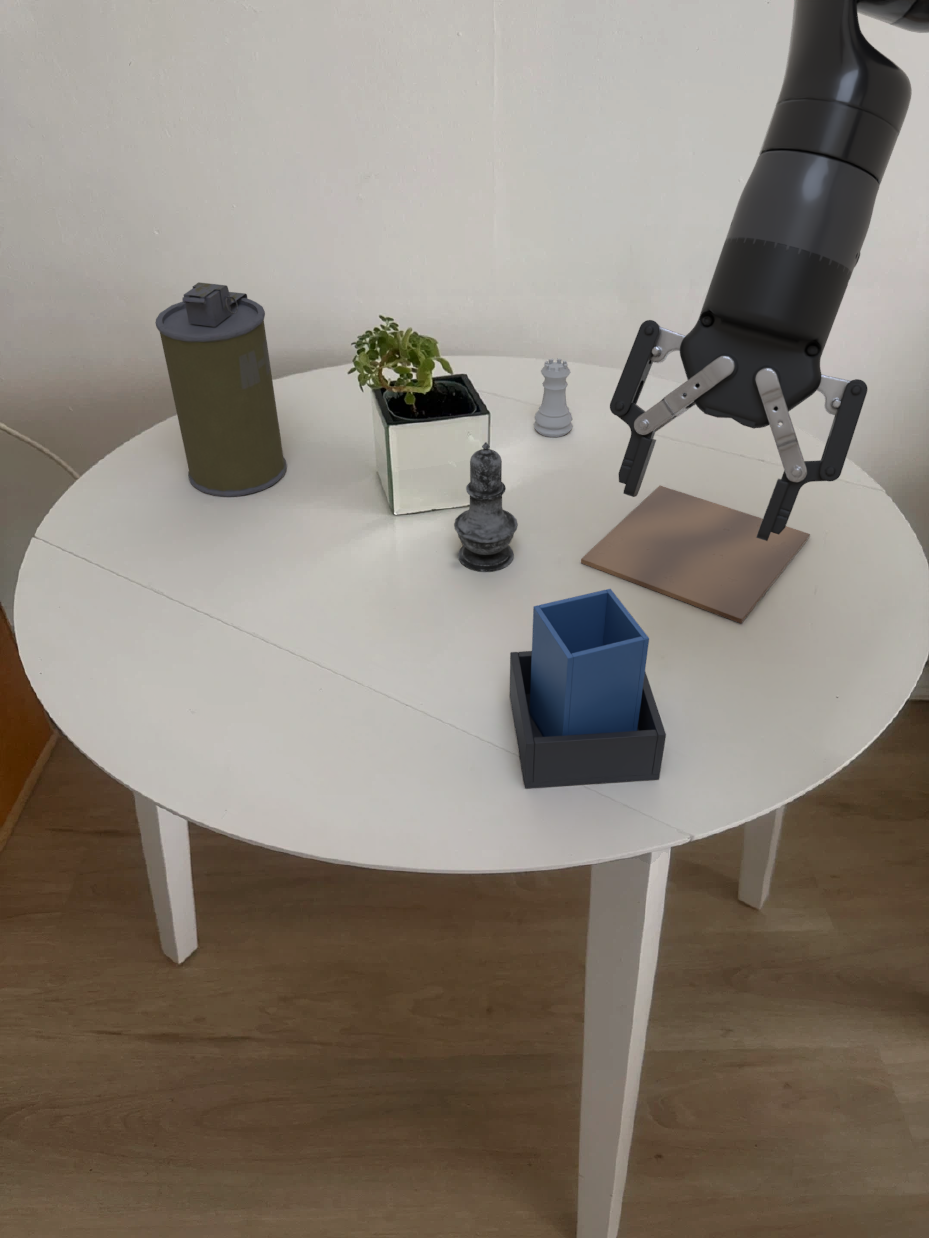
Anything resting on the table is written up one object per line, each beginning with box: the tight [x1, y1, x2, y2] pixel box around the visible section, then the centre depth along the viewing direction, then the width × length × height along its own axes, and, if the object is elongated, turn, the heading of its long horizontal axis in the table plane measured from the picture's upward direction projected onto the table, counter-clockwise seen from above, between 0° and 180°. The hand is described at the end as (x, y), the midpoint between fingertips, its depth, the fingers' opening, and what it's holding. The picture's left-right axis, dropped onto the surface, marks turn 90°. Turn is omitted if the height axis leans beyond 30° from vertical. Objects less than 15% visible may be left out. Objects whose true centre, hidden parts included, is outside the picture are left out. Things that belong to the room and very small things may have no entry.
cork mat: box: [580, 485, 811, 625], centre depth 94 cm, size 16×16×1 cm
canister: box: [154, 282, 288, 497], centre depth 101 cm, size 11×10×20 cm
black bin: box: [509, 650, 667, 789], centre depth 74 cm, size 10×10×5 cm
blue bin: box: [530, 588, 650, 737], centre depth 72 cm, size 6×6×10 cm
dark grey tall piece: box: [453, 441, 519, 573], centre depth 91 cm, size 6×6×12 cm
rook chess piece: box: [533, 358, 574, 438], centre depth 111 cm, size 4×4×8 cm
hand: (695, 516), depth 62 cm, fingers open, 8 cm apart
